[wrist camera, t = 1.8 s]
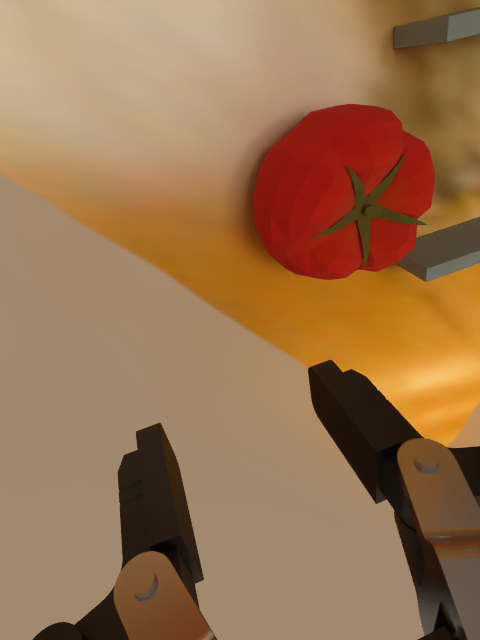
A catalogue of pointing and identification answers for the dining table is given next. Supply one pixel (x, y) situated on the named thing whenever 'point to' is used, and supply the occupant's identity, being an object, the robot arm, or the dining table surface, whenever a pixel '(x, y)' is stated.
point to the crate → (466, 238)
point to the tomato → (343, 192)
